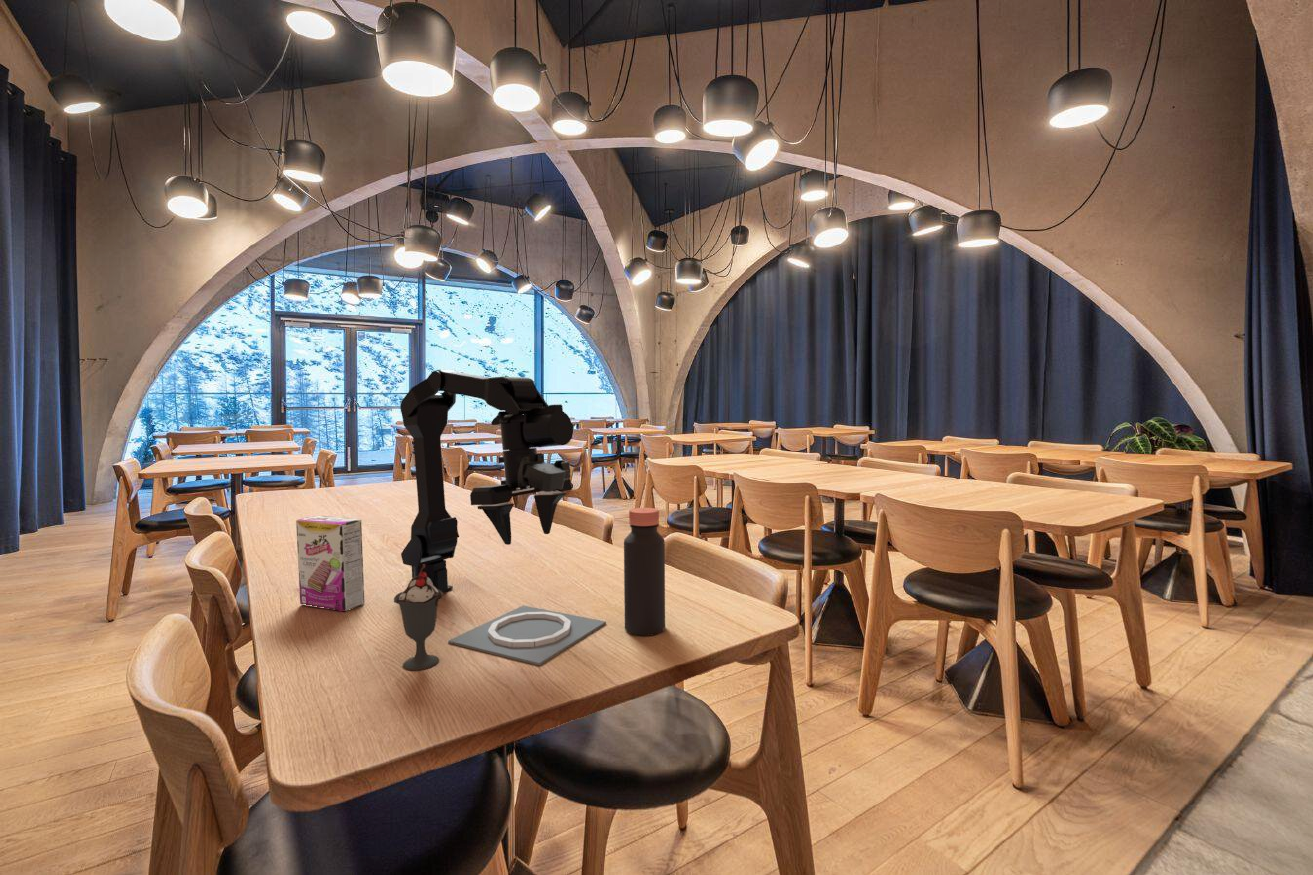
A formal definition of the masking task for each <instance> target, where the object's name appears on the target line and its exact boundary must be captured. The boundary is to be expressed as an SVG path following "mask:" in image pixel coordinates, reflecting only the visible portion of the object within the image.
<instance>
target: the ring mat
mask: <svg viewBox="0 0 1313 875" xmlns="http://www.w3.org/2000/svg"><path fill="white" fill-rule="evenodd" d="M606 624H607V620H606V621H605V620H600V619H595V618H591V617H584V616H580V615H574V614H569V613H565V612H559V611H554V610H547V609H544V608H538V607H534V606H528V605H522V606H518V607H517V608H515V609H513V610H510V611H508V612H507V613H504V614H501V615H500V616H497V617H496V618H493V619H491V620H489V621H487V622H485V623H482V624H481V625H478V626H476V627H474V628H473V629H470V630H467V631H465V632H464V633H462V634H460V635H457V636H455V637H453V638H451V639H449V640H447V643H448V644H450V645H455V646H457V647H458V646H459V647H463V648H466V649H470V650H473V651H474V650H475V651H477V652H482V653H487V654H490V655H491V654H492V655H493V656H494V655H495V656H498V657H503V658H505V659H506V658H507V659H510V660H515V661H519V662H523V663H526V664H530V665H534V666H542V665H543V664H545V663H546V662H548V661H549V660H551V659H553V658H554V657H556V656H557V655H560V654H561V653H562V652H564V651H565V650H567V649H568V648H570V647H572V646H573V645H575V644H576V643H578V642H579V641H581V640H582V639H584V638H586V637H588V636H589V635H590V634H592V633H594V632H595V631H597V630H598V629H600V628H602V627H604V626H605V625H606Z"/></svg>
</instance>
